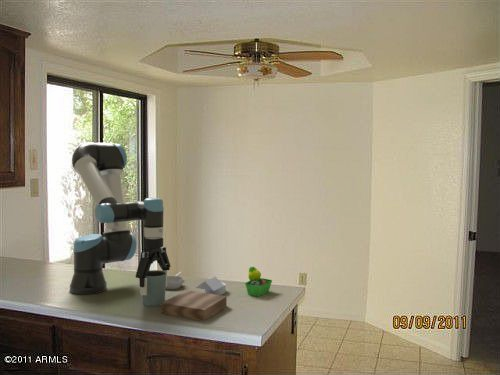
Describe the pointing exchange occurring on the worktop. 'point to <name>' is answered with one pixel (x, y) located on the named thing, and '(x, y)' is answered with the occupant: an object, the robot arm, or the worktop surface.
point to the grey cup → (155, 288)
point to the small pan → (174, 281)
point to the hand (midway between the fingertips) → (153, 290)
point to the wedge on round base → (213, 286)
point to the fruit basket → (257, 283)
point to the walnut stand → (194, 305)
